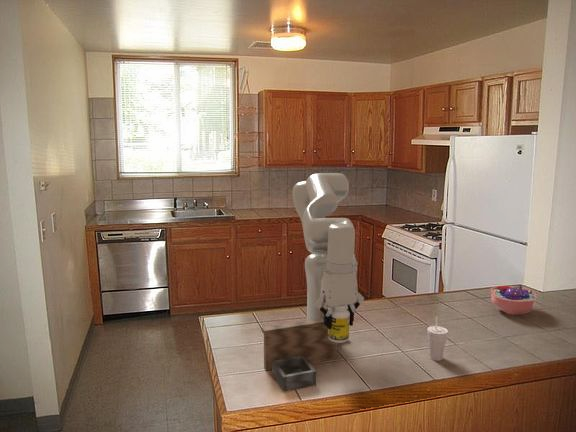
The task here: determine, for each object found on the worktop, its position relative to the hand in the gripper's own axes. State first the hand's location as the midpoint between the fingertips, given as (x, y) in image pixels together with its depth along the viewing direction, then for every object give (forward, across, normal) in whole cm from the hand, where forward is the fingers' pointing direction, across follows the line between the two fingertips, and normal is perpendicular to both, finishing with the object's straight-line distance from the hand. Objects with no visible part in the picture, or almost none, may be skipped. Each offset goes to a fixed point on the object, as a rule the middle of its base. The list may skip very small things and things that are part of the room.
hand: (338, 325), depth 136 cm
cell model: (+18, -89, -21) cm, 93 cm away
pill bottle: (+5, 0, 0) cm, 5 cm away
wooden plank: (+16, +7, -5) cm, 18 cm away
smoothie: (+17, -35, +1) cm, 39 cm away
